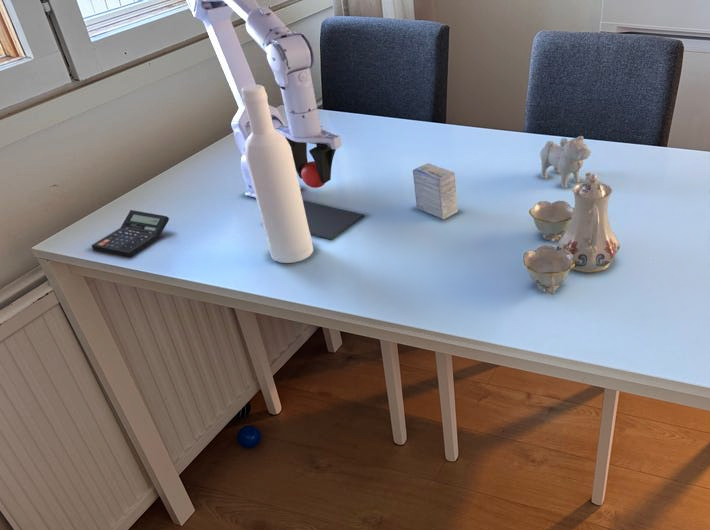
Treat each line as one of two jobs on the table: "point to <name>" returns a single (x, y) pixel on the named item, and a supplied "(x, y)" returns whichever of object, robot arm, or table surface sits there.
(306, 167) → the ball
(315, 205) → the mat
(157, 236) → the calculator
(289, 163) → the bottle
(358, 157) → the table surface
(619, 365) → the table surface
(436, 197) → the grey streaked block
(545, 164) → the dog figurine
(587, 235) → the chinaware
